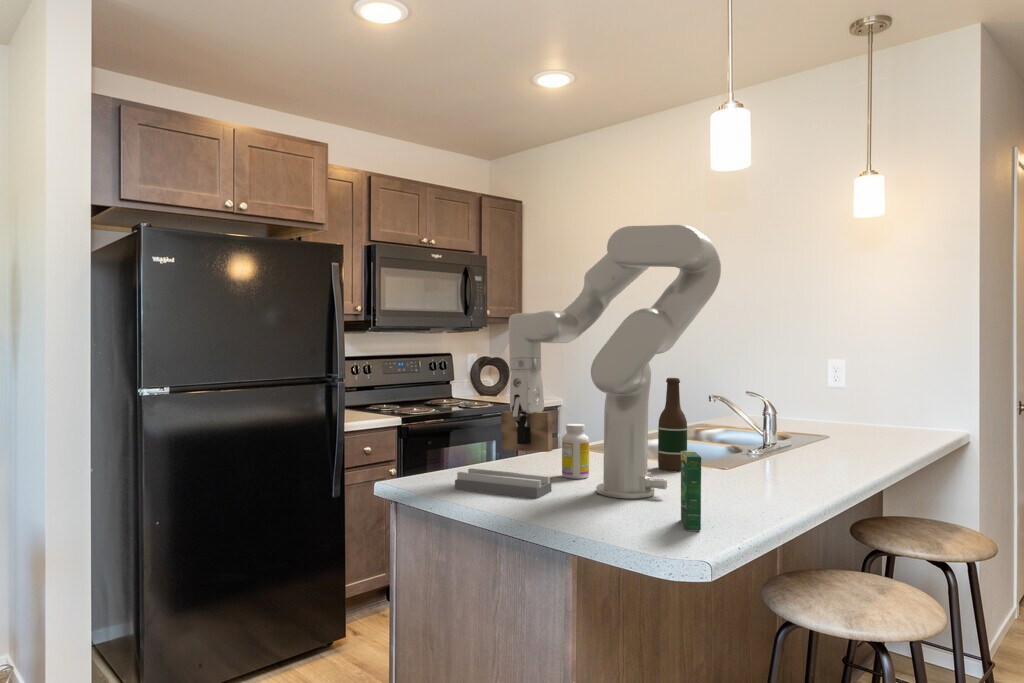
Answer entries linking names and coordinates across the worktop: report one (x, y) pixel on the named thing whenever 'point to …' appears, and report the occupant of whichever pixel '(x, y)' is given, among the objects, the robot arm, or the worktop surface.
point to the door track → (503, 483)
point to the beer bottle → (671, 430)
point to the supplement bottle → (575, 452)
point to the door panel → (538, 430)
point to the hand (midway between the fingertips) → (526, 442)
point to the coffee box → (691, 490)
